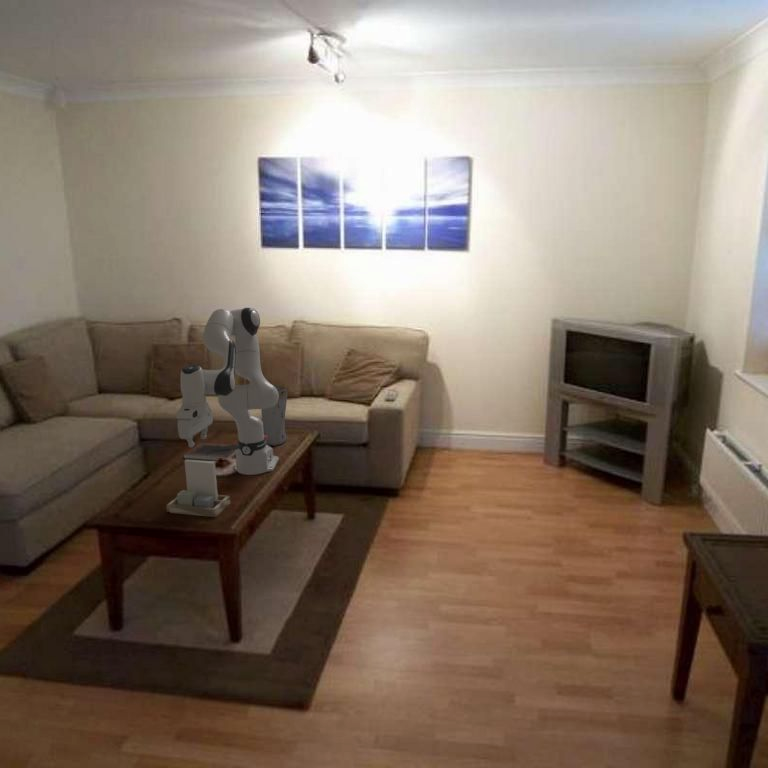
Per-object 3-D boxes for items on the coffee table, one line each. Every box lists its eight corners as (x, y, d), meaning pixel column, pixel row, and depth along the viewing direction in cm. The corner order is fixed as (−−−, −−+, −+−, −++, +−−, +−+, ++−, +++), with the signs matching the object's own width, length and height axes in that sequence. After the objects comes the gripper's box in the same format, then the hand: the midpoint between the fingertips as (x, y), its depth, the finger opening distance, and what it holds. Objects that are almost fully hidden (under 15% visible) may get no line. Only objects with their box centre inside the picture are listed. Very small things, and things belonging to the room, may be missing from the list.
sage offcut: (183, 506, 261) (182, 490, 259) (197, 507, 260) (196, 491, 258) (178, 510, 257) (176, 494, 255) (192, 512, 256) (191, 495, 254)
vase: (286, 447, 324) (284, 391, 317) (258, 446, 325) (256, 391, 317) (290, 438, 337) (289, 384, 330) (263, 437, 337) (261, 384, 330)
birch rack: (183, 498, 268) (183, 491, 267) (230, 502, 264) (229, 495, 263) (167, 512, 256) (166, 505, 255) (215, 517, 252) (214, 509, 251)
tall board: (191, 501, 265) (186, 459, 261) (218, 504, 263) (214, 461, 258) (188, 503, 264) (184, 461, 259) (216, 505, 261) (212, 463, 256)
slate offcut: (200, 508, 260) (198, 495, 258) (214, 509, 258) (213, 496, 257) (195, 512, 256) (193, 499, 254) (209, 514, 254) (208, 500, 253)
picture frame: (242, 449, 323) (201, 447, 327) (241, 445, 322) (200, 442, 326) (227, 462, 307) (184, 459, 311) (226, 457, 306) (184, 454, 311)
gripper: (200, 400, 263) (203, 433, 267) (173, 415, 244) (176, 450, 248) (215, 401, 262) (217, 434, 265) (189, 416, 243) (192, 452, 246)
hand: (197, 442), depth 256 cm, fingers open, 8 cm apart
